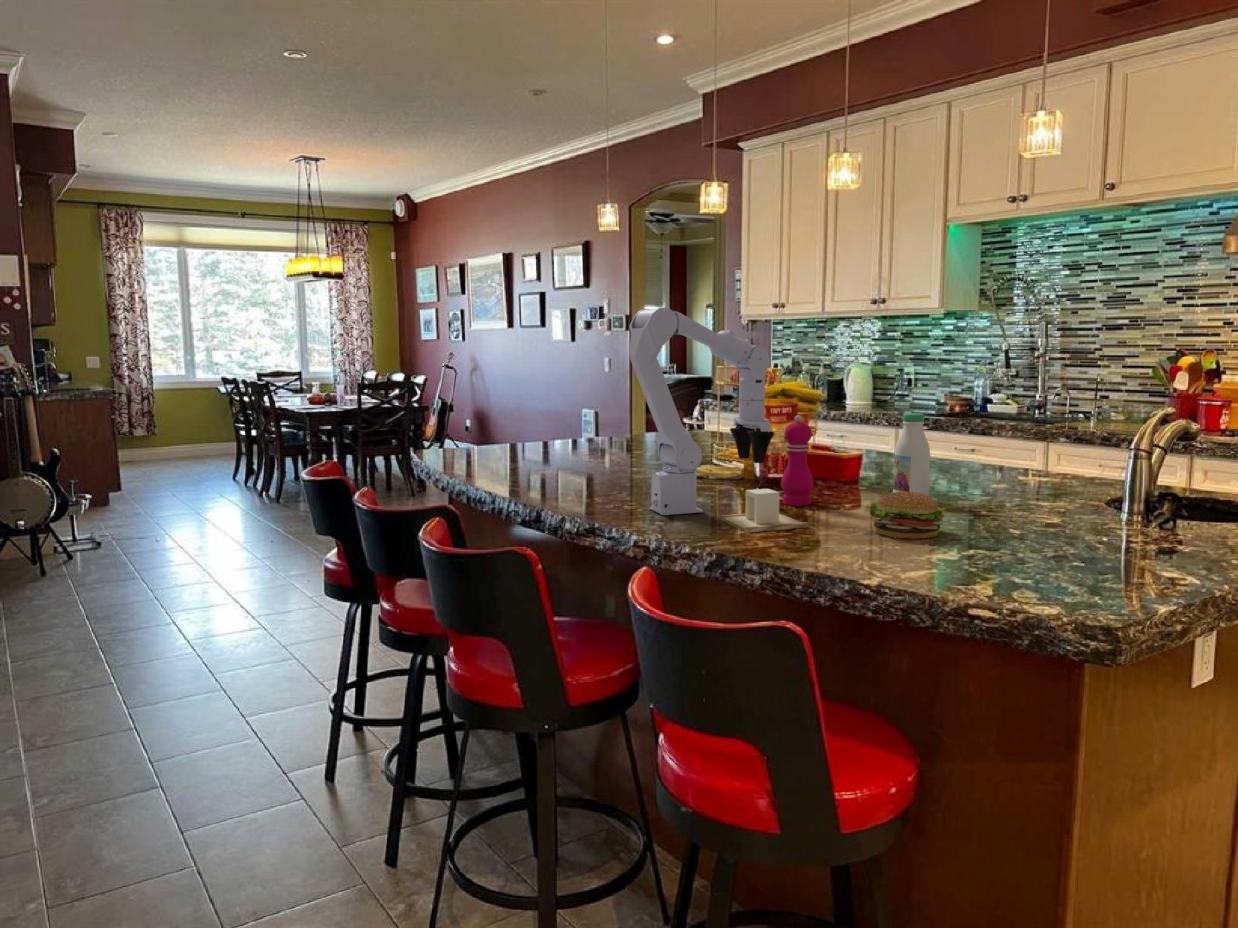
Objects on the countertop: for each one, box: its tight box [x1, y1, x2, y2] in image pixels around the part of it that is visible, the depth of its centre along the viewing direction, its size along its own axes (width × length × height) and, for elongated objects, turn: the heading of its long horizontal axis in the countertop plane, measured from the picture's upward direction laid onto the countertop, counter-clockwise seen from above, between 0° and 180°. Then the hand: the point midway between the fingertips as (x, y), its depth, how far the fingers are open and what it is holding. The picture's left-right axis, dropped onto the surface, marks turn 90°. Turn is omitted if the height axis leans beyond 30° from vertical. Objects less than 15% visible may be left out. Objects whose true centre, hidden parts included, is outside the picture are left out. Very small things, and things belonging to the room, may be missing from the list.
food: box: [869, 492, 947, 540], centre depth 169 cm, size 14×14×8 cm
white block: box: [744, 488, 780, 524], centre depth 179 cm, size 5×5×6 cm
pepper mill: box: [780, 415, 814, 507], centre depth 199 cm, size 7×7×20 cm
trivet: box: [719, 512, 808, 533], centre depth 179 cm, size 13×13×1 cm
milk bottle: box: [892, 412, 931, 496], centre depth 200 cm, size 8×8×20 cm
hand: (751, 460), depth 199 cm, fingers open, 7 cm apart
